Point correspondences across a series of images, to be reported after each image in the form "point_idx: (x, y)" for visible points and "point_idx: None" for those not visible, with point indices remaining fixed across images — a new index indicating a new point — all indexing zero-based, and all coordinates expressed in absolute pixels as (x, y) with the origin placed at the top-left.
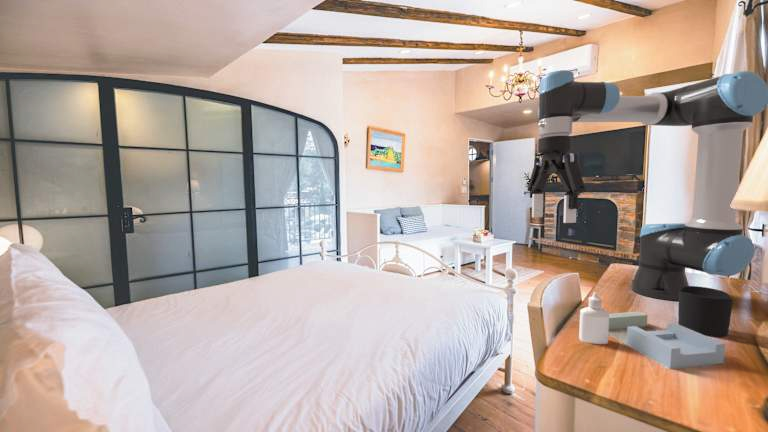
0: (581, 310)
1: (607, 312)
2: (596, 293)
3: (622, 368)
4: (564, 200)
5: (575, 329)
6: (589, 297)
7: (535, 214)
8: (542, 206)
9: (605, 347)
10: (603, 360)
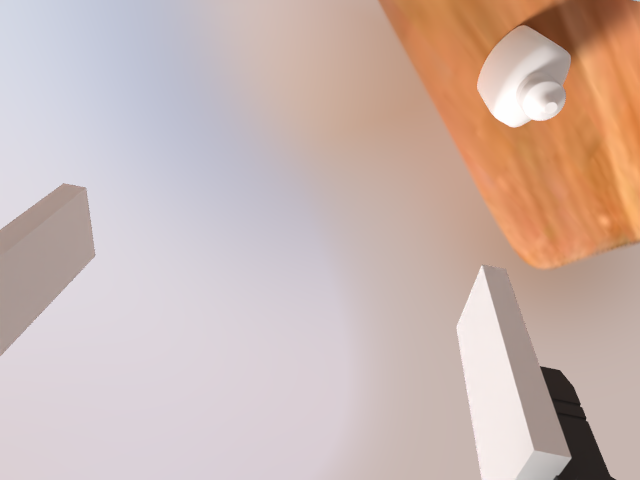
0: (502, 121)
1: (567, 59)
2: (556, 108)
3: (627, 110)
4: (486, 473)
5: (421, 35)
6: (527, 112)
7: (80, 254)
8: (26, 238)
9: None
10: (579, 120)
